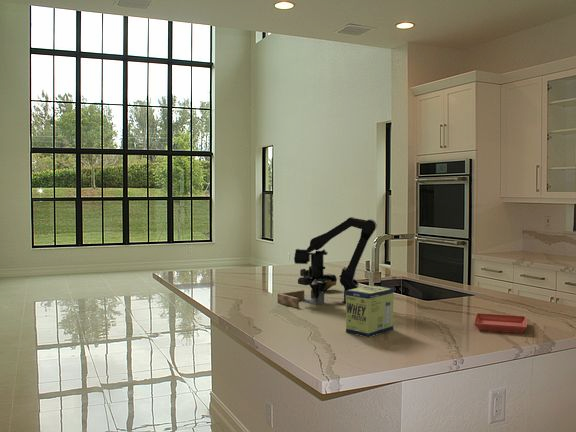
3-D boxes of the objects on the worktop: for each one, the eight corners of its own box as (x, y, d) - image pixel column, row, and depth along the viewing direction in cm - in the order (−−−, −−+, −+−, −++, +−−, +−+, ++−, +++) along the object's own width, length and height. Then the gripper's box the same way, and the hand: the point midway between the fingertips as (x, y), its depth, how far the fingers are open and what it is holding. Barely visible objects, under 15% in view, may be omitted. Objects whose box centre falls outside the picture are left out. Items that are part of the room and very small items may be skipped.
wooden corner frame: (322, 303, 261) (322, 294, 261) (296, 307, 252) (296, 298, 252) (302, 298, 272) (302, 290, 272) (277, 302, 263) (277, 293, 263)
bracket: (324, 302, 262) (324, 291, 262) (314, 304, 259) (314, 293, 259) (313, 299, 269) (312, 289, 268) (303, 301, 265) (303, 290, 265)
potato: (310, 290, 293) (310, 274, 293) (333, 288, 297) (333, 273, 297) (316, 293, 285) (316, 277, 285) (340, 291, 289) (340, 275, 289)
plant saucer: (476, 320, 227) (476, 312, 227) (526, 324, 221) (526, 315, 220) (473, 331, 210) (473, 322, 210) (527, 336, 204) (527, 326, 204)
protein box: (345, 332, 210) (345, 290, 209) (371, 325, 220) (371, 284, 220) (368, 337, 202) (368, 293, 201) (394, 329, 213) (394, 287, 212)
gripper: (321, 260, 276) (321, 293, 277) (290, 264, 265) (290, 298, 266) (337, 263, 267) (337, 296, 268) (305, 266, 256) (305, 301, 257)
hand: (317, 298), depth 265 cm, fingers closed on bracket
